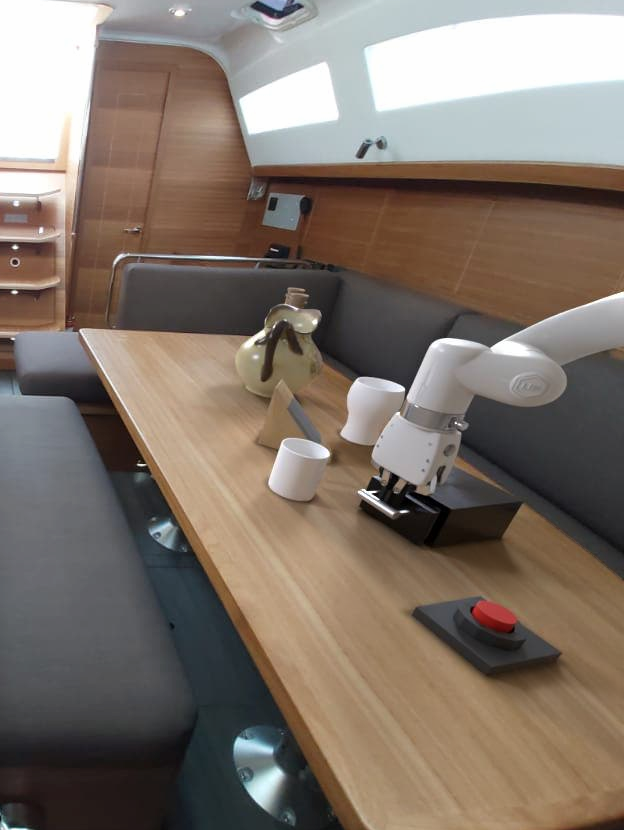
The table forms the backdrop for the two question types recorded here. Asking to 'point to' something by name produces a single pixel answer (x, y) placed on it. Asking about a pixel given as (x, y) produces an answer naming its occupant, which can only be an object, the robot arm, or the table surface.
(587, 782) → the table surface
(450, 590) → the table surface
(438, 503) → the black drawer box
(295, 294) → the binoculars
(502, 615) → the button
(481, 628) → the control block
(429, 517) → the black drawer
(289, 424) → the sandwich container
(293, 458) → the mug
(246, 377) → the pitcher
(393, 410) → the cup
